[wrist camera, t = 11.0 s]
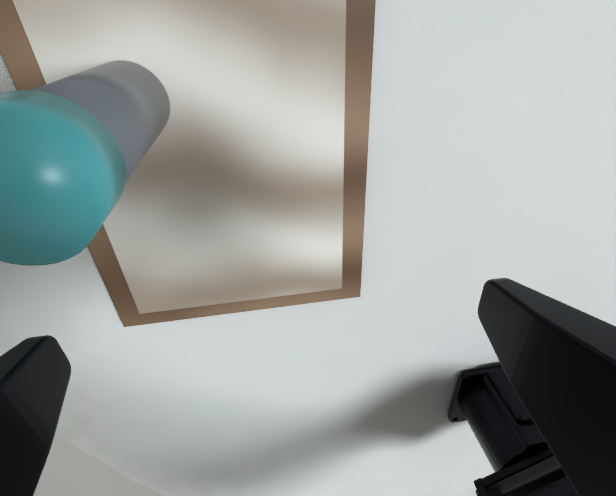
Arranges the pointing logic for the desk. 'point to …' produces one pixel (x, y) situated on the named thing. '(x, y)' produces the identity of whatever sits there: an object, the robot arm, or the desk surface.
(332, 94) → the clipboard
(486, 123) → the desk surface
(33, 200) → the glue stick
